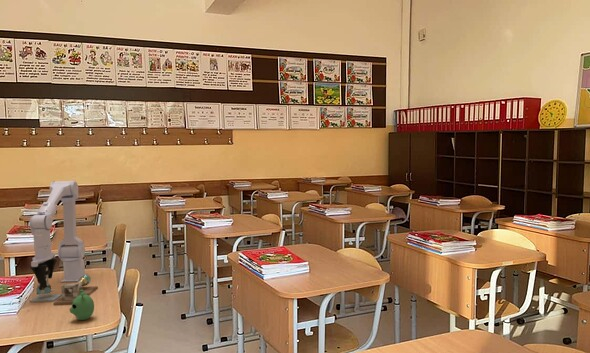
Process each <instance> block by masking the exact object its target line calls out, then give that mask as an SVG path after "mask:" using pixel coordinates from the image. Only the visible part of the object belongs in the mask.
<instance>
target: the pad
mask: <svg viewBox="0 0 590 353" xmlns="http://www.w3.org/2000/svg"><path fill="white" fill-rule="evenodd" d="M61 297H62V293H53V294H50V293H49V294H39V295H36V296H35V297H33V298H32V299H31V300H29V302H30V303H44V302H45V303H46V302H55V301H56V300H58V299H59V298H61Z"/></svg>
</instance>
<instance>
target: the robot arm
mask: <svg viewBox="0 0 590 353" xmlns="http://www.w3.org/2000/svg"><path fill="white" fill-rule="evenodd" d="M49 192H50V193H49V196H48V198H47V201H44V202H43V203H42V204H41V206H40V208H39V209H38V211H37V213H36V214H33V216H31V217H30V219H29V223H28V224H29V228H30V230H31V234H32V237H33V246H34V256H33V257H32V258H31V259H32V261H31V262H30V269H31V270H32V272H33V273H34V275H35V278H36V281H37V284H38V283H44V282H45V278H46V276H45V272H46V268H47V267H48V269H50V274H48V280H49V279H53V274H54V268H55V266H56V264H57V258H56V252H53V251H52V240H51V229H52V227H53V223H54V222H53V221H54V216H55V214H56V212H57V210H58V206H57V205H58V203H59V202H60V201H61V202H62V207H63V208H62V211H63V212H62V213H63V214H62V216H63V218H62V219H63V232H64V233H63V236H64V237H63V239H61V240H60V241H59V242H58V248H57V256H58V258H59V259H60V260H61V262H62V264H63V276H64V277H63V279H61V280H60V283H64V282H66V283H67V282H70V283H72V282H78V280H79V279H80V277H82V276H83V275H88V274H86V269H85V268H86V267H85V260H84V256H85V254H86V247H85V243H84V240H82V238H80V237H78V236H77V216H76V210H77V208H76V200H77V199H79V195H80V194H79V185H78V183H77V181H76V180H60V181H55V180H52V181H51V183H50V185H49Z"/></svg>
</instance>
